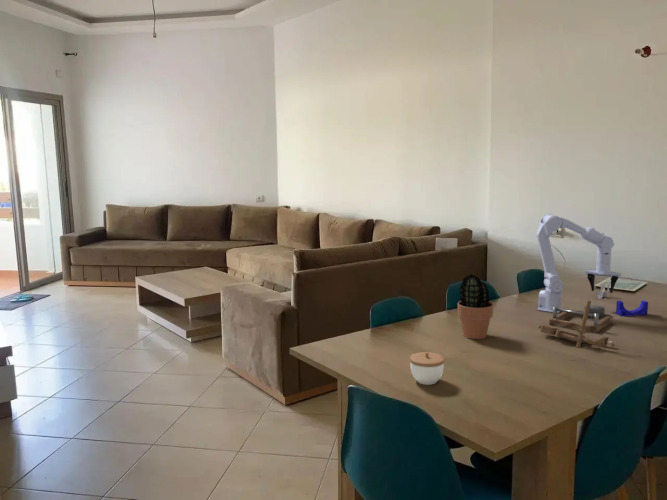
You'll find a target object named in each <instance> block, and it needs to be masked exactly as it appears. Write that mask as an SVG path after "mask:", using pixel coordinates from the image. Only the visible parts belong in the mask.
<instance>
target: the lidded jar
mask: <svg viewBox="0 0 667 500" xmlns="http://www.w3.org/2000/svg"><path fill="white" fill-rule="evenodd" d="M409 361H410V362H409V364H410V366H409V367H410V372H411V374H412V376H413V379H414V380H416V381H417V383H418V384H420V385H424V386H425V385H426V386H430V385H434V384H437V382H438V381H439V380H440V379H441V377H442V375H443V373H444V367H445V358H444V356H443V355H441V354H439V353H437V352H436V353H435V352H430V351H423V352H421V351H420V352H416V353H415V352H414V353H413V354H410V357H409Z"/></svg>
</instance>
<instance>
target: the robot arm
mask: <svg viewBox="0 0 667 500" xmlns="http://www.w3.org/2000/svg"><path fill="white" fill-rule="evenodd" d="M595 228H596V227H595ZM595 228H594V227H589V226H588V227H583V226H581V225H579V224H577V223H576V222H573V221H571V220H569V219H567V218H564V217H560V216H558V215H554V214H551V213H547V214H545V215H544V216H543V217H542V218H541V219H540V220H539V225H538V228H537V230H536V233H535V234H536V239H537V243H538V249H539V252H540V256H541V257H540V258H541V261H542V266H543V270H544V273H543V274H544V275H543V276H544V280H543V285H544V286H545V289H541V290H540V291H539V293H538V304H537V305H538V306H537V307H538V308H537V310H538V311H543V312H549V313H553V307H557V308H558V309H564V308H562V294H563V293H562V292H563V289H564V286H565V285H564V281H563V280H562V279H561V278H560V275H559V273H558V270H557V267H556V261H555V258H554V252H553V250H552V249H553V248H552V245H551V241H550V237H551V236H552V234H554V233H555V232H556V231H557V230H559V229H567V230H570V231H572V232H575V233H577V234H578V235H579V234H580V236H581V239H582V240H584V241H586V242H588V243H590V244H593V245H595V246H596V247H597V248H596V249H597V250H596V265H595V267H596V269H595V270H594V269H591V270H590V269H586V270H585V272H584V274H585V276H586V277H587V279H588V282H589V284H590V289H591V292H594V291H595V279H596V276H600V277H611V278H610V287H609V293H610V294H612V293H613V292H614V288H615V286H616V283H617V281H618V280H619V278H620V279H621V278H622V272H619V271H618V272H616V271H611V264H612V249H613V247H614V245H615V242H614V240H613V238H612V237H611V236H608V235H605V233H604V232H600V231H597V230H596V229H595ZM560 313H562V311H557V314H560Z"/></svg>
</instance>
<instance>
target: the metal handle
mask: <svg viewBox="0 0 667 500" xmlns="http://www.w3.org/2000/svg"><path fill="white" fill-rule="evenodd" d="M557 311H561V313H562V312H568V313H571V314H574V315H581V316H584V312H582V311H576V310H571V309H565V308H563V309H558V308H557V307H553V312H552V318H557V315H558V313H557ZM590 316H593V317H592V318H594V319H593V320H594V321H593V325H598V324H599V321H600V320H599V319H600V317H599V314H597V313H595V314H590V313H588V316H587V317H590Z"/></svg>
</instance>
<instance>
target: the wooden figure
mask: <svg viewBox="0 0 667 500" xmlns="http://www.w3.org/2000/svg"><path fill="white" fill-rule="evenodd" d="M591 303H592V301H591V300H586V304H585V306H586V308H585V307H584V312H583V313H584V315H582V321H581V323H580V324H581V328H580V329H578V330H577V333H576V332H572V331H570V330H568V329H560V328H559V327H556V326H552V325H549V324H541V325H538V328H537V329H539V332H541V333H544V334H549V335H551V336H555V337H556V338H559V339H560V338H561V339H563V340H568V341H571V342H574V343H576V345H575V348H581V345H582V344H583V343H585V344H587V345H588V344H589V345H591V346H595V347H597V348H601V349H603V348H605V349H606V348H607V345H608V343H612V340H611V341H609V337H608V336H607V337H606V336H603V337H602V338H600V339H598V340H594V339H591V338H590V337H589V338H588V337H586V336H585V335H584V334H586V333H587V332H586V330H584V329H585V325H587V321H588V320H587V319H588V317H589V316H588V312H589V308H590V305H592V304H591Z"/></svg>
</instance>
